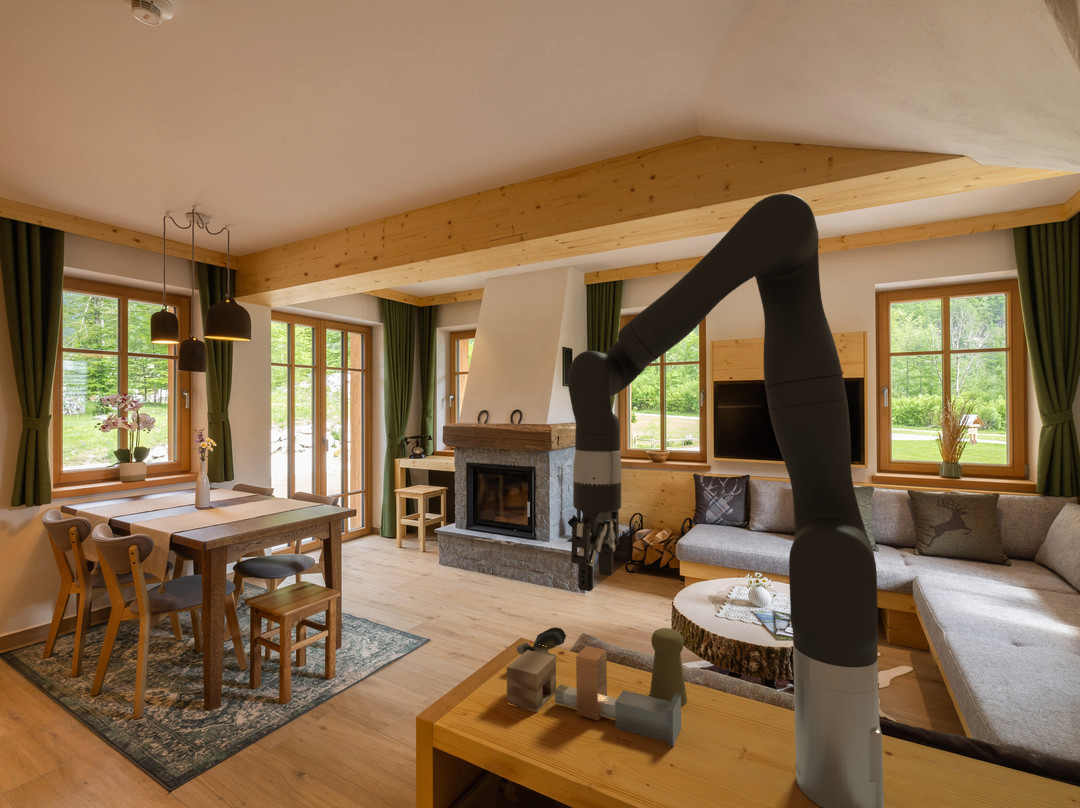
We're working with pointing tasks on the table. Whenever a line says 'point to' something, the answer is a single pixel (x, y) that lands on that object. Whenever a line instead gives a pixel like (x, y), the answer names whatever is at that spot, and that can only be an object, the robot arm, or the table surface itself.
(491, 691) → the table surface
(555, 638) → the eagle figurine
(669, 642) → the olive green pawn
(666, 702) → the sleeve
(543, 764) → the table surface
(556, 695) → the bar
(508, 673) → the socket block
